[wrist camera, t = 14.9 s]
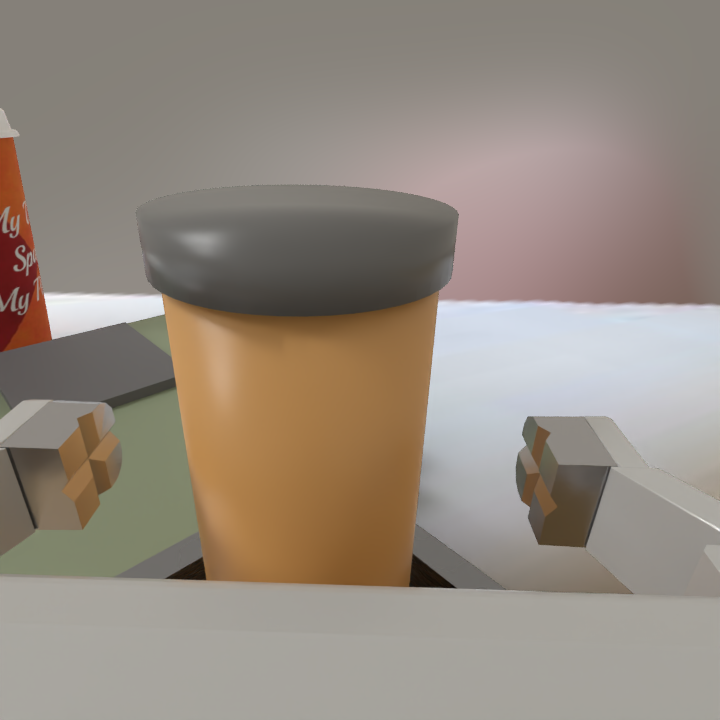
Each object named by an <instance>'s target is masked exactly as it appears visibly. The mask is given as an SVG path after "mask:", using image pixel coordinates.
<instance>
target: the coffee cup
mask: <svg viewBox="0 0 720 720" xmlns="http://www.w3.org/2000/svg"><path fill="white" fill-rule="evenodd" d="M16 136H19V134H18V132H17V130H14V129H11V127H10V125H9V122H8V120H7V118H6V115H5V112H4V111H3V109H1V107H0V352H4V351H8V350H12V349H16V348H21V347H25V346H29V345H33V344H37V343H41V342H46V341H50V340H52V337H51V331H50V325H49V320H48V315H47V309H46V304H45V299H44V293H43V288H42V283H41V278H40V273H39V268H38V262H37V257H36V252H35V247H34V242H33V237H32V231H31V226H30V221H29V216H28V211H27V206H26V201H25V196H24V192H23V186H22V181H21V175H20V170H19V165H18V160H17V155H16V150H15V145H14V140H13V137H16Z"/></svg>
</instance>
